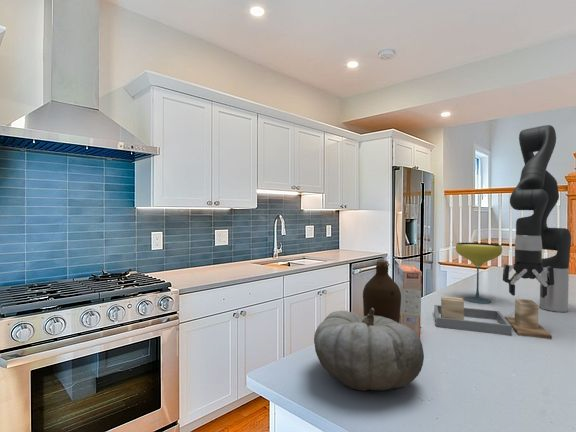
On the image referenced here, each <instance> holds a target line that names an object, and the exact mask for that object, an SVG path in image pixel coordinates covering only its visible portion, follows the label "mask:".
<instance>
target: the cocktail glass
mask: <svg viewBox="0 0 576 432" xmlns="http://www.w3.org/2000/svg"><path fill="white" fill-rule="evenodd" d="M455 251H456V253H457V254H458V255H459V256H461V257H462V258H464V259H466V260H468V261H470V262H471V263H472V264H473V265H474V267H475V268H476V290H475V291H476V292H475V296H465V297H464V298H463V301H464V300H465V301H466V302H470V303H475V304H491V303H492V300H491V299H488V298H486V297H485V298H484V297H481V296H480V292H479V285H480V284H479V283H480V282H479V274H480V273H479V270H480V268H481V267H482V266H483V265H484V264H485V263H487V262H490V261H492V260H494V259H496V258H498V257H500V256H501V255H502V253H503V247H502V245H501V244H496V243H495V244H494V243H486V242H457V243H456V244H455Z"/></svg>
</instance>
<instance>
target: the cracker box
mask: <svg viewBox="0 0 576 432" xmlns="http://www.w3.org/2000/svg"><path fill="white" fill-rule="evenodd" d="M397 265H398V266H397V285H398V287H399V289H400V292H401V308H400V323H399V324H403V325H405V326H407V327H409V328H410V329H412V330H413V331H414V332H415V333H416V334H417V335H418V337H419V338H420V339H421V324H422V323H421V321H422V320H421V316H422V315H421V314H422V282H423V281H422V279H423V278H422V277H423V272H422V271H421V270H420V269H419V268H418V267H417V266H415V265H413V264H397Z"/></svg>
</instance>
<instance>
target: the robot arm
mask: <svg viewBox="0 0 576 432" xmlns="http://www.w3.org/2000/svg"><path fill="white" fill-rule="evenodd" d="M518 141H519V146H520V151H521V155H522V159H523V162H524V165H523V167H522V170H521V172H520V178H519V182H518V183H517V184H516V187H515V188H514V189H513V191H512V193H511V194H510V197H509V204H510V207H511V208H512V209H513V210H516V211H532V212H533V213H532V214H531V215H528V216H524V217H519V218H517V219H516V221H515V240H514V263H513V264H512V265H511V264H506V263H505V264H503V271H502V281H503V282H505V283H507V284H508V293H509V294H510V295H511V296H515V295H516V285H515V284H516V282H518V281H520V279H521V278H522V279H530V280H534V279H536V280H537V282H539V308H540V309H543V310H545V311H546V310H547V311H550V312H557V313H558V312H559V313H565V312H569V286H570V285H569V281H570V279H569V278H570V277H569V275H570V274H569V271H570V259H571V255H570V254H571V248H572V247H571V245H572V234H571V232H570V230H569V229H568V228H565V227H549V226H548V217H549V215H550V213H551V212H552V211H553V209H554V208H555V206H556V205H557V203H558V202H559V200H560V191H559V187H558V186H559V185H558V182H557V180H556V179H557V178H555V177H554V176H553V175H552V174H551V173H550V172H549V171H548V170H547V168H548V165H549V162H550V160H551V158H552V155H553V152H554V151H555V150H554V149H555V147H556V143H557V134H556V128H555V127H554V126H553V125H551V124H546V125H541V126H540V125H539V126H535V127H529V128H524V129H522V130H521V131H520V132H519V135H518ZM534 153H535V154H534ZM543 250H544V251H545V250H547V251H556V253H555V255H553V256H551V257H545V258H543ZM512 270H514V271H515V273H514V274H513V275H512V276H511V278H510V277H509V276H510V272H512Z"/></svg>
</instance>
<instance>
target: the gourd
mask: <svg viewBox="0 0 576 432" xmlns="http://www.w3.org/2000/svg"><path fill="white" fill-rule="evenodd" d="M313 337H314V338H313V341H314V342H313V343H314V351H315V354H316V357H317V359H318V361H319V363H320V365H321V366H322V367H323V368H324V370H326V372H327V373H329V375H331V376H332V377H333V378H336V379H337V380H338V381H339V382H340V383H341V384H343V385H344V386H347V387H349V388H351V389H353V390H359V391H363V392H365V391H368V390H371V391H381V392H382V391H386V390H391V389H397V388H402V387H405V386H407V385H408V384H410V383H412V382H413V381H414V380H415V379H416V378H418V376H419V375H420V373H421V372H422V368H423V366H424V359H425V355H424V354H425V353H424V347H423V342H422V341H421V337H420V338H419V337H418V335H417V334H416V333H415V332H414V331H413V330H412V329H410V328H409V327H407V326H405V325H403V324H399V323H398V322H396V321H394V320H392V319H389V318H385V317H382V316H375V315H374V308H372V309H371V310H370V312H369V314H368V315H367V316H364V315H361V314H358V313H356V312H352V311H348V310H336V311H332V312H331V313H329V314H327V316H326V317H325V318H324V320H323V321H321V323H320V324H319V325H318V326H317V328H316V330H315V332H314V335H313Z"/></svg>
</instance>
